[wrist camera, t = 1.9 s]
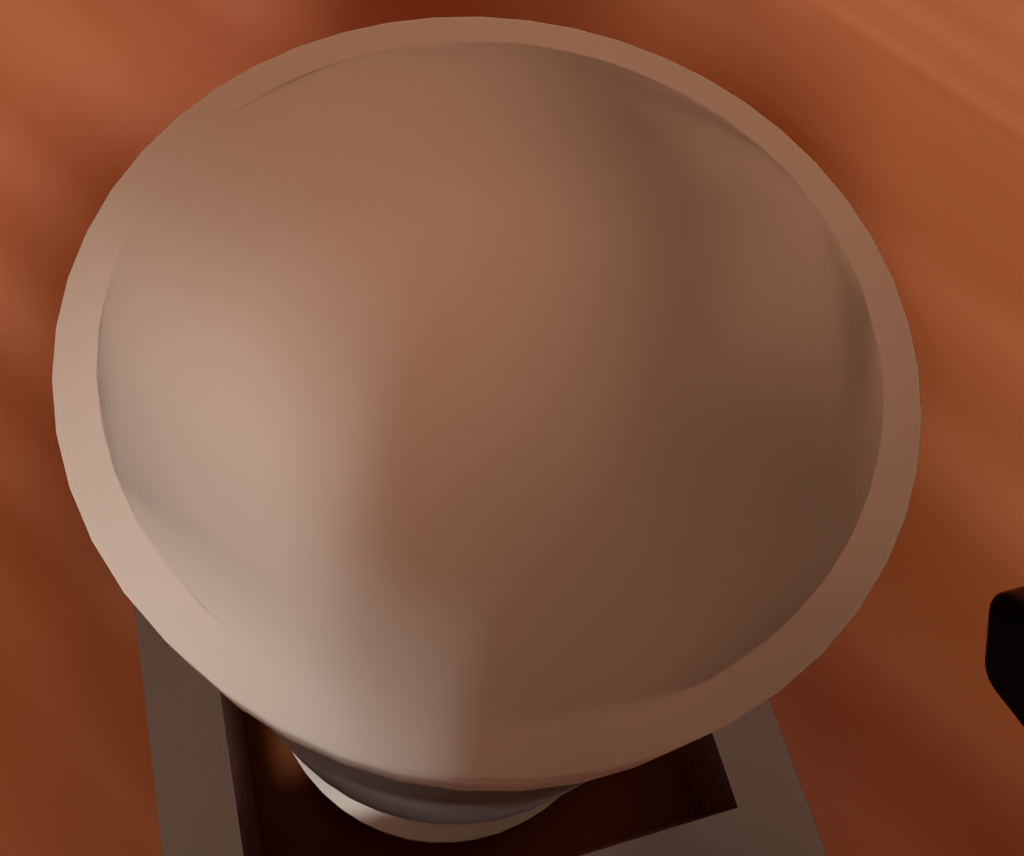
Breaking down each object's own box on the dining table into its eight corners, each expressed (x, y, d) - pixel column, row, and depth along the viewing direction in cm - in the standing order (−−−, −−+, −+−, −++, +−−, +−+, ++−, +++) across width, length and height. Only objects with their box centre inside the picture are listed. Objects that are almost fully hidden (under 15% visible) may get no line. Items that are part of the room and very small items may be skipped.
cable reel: (552, 896, 17) (846, 938, 6) (219, 771, 18) (-148, 568, 6) (644, 570, 20) (965, 152, 9) (356, 468, 21) (286, -67, 9)
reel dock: (777, 864, 18) (829, 862, 16) (218, 1043, 16) (186, 1071, 14) (610, 389, 22) (633, 334, 20) (147, 483, 20) (115, 433, 18)
